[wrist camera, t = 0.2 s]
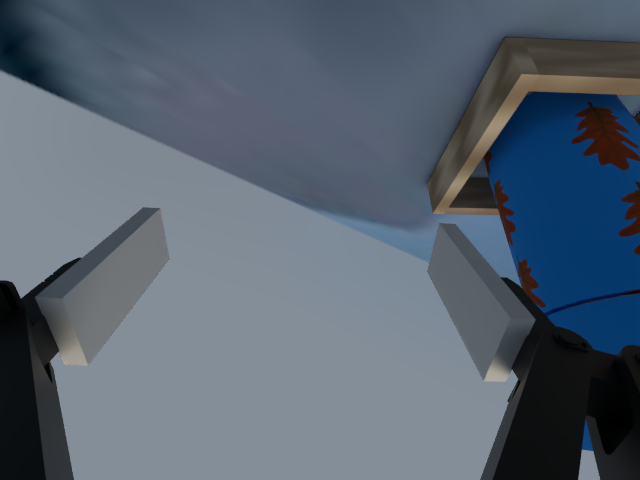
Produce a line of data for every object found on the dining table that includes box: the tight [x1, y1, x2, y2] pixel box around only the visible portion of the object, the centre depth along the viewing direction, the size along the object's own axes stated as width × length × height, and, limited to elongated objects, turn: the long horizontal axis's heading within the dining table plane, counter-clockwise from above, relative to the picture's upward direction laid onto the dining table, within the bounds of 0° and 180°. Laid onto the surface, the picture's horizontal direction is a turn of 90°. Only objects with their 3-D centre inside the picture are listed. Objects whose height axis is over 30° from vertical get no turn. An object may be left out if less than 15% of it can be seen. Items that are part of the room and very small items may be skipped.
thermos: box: [484, 91, 640, 451], centre depth 25 cm, size 11×11×25 cm
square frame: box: [427, 37, 640, 215], centre depth 30 cm, size 16×16×4 cm
